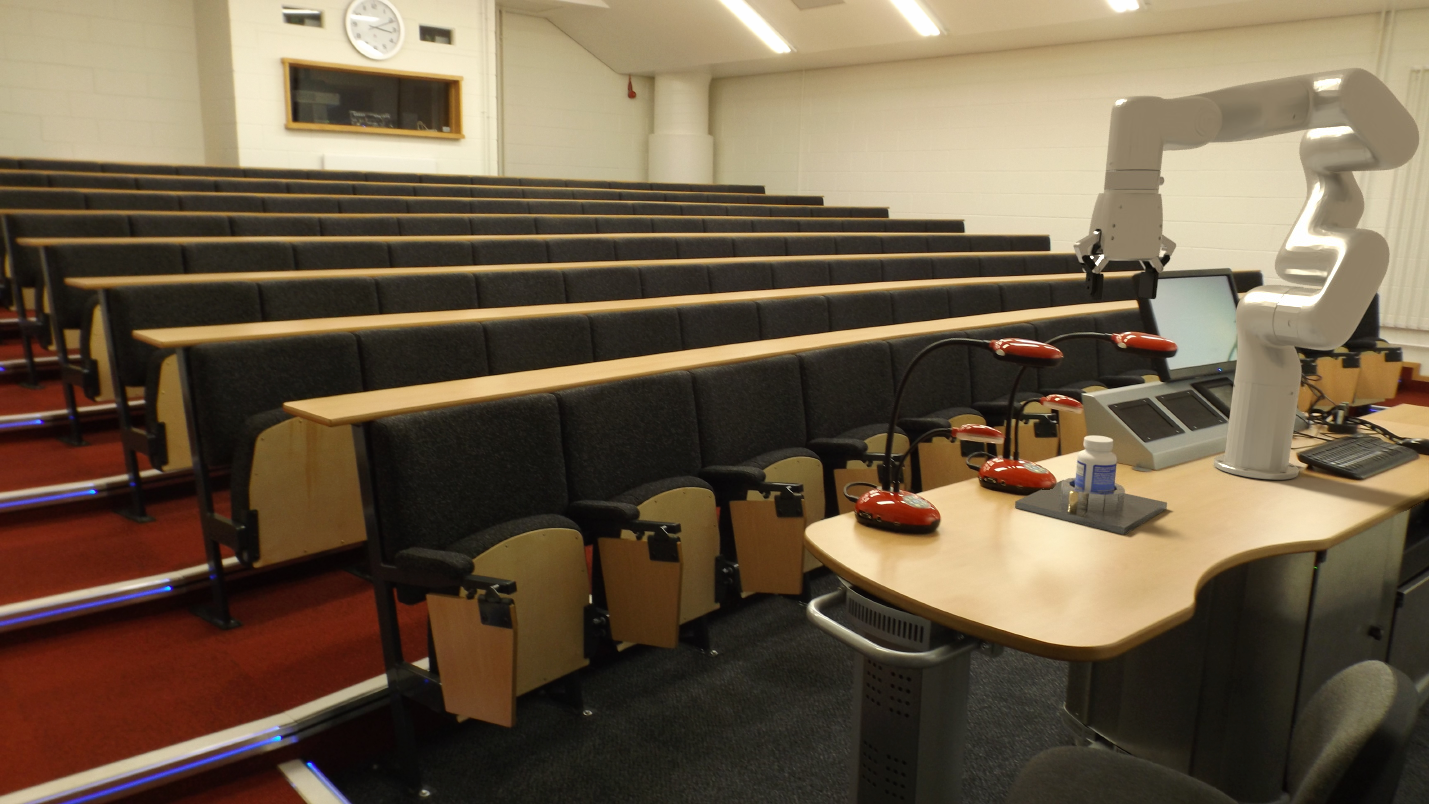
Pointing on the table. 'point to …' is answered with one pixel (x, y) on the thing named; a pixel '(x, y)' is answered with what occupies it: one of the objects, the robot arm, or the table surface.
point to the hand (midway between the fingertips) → (1120, 298)
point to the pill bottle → (1096, 465)
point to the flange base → (1094, 517)
